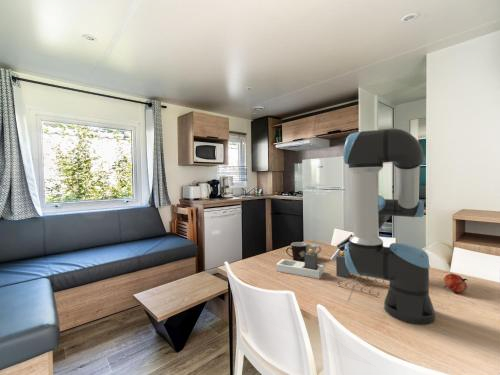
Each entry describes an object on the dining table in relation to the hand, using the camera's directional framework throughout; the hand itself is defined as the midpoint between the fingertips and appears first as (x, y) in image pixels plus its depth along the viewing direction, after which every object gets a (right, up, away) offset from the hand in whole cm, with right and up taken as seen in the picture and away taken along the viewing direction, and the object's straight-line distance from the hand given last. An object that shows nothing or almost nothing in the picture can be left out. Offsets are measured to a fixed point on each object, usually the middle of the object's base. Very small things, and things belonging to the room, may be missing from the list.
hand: (340, 264), depth 122 cm
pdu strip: (-19, -6, +6) cm, 20 cm away
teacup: (-9, -5, +27) cm, 29 cm away
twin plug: (-14, -5, +3) cm, 15 cm away
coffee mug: (-17, -5, +22) cm, 29 cm away
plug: (+1, -5, 0) cm, 6 cm away
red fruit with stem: (+40, -6, -18) cm, 44 cm away
